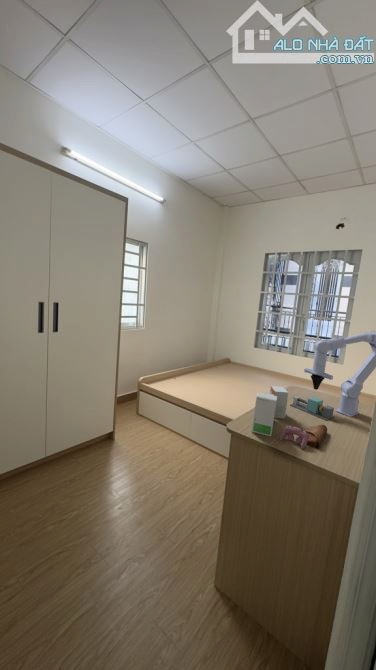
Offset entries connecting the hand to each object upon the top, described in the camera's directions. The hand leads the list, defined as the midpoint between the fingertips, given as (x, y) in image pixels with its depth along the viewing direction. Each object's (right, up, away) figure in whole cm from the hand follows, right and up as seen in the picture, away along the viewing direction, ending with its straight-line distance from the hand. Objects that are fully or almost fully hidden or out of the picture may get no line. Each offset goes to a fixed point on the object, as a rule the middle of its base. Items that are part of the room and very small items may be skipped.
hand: (315, 389), depth 145 cm
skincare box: (-36, -12, -28) cm, 47 cm away
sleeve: (-3, -11, -4) cm, 12 cm away
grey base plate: (-4, -11, -3) cm, 12 cm away
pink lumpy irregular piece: (-25, -14, -36) cm, 46 cm away
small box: (-24, -11, -10) cm, 28 cm away
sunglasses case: (-16, -15, -30) cm, 37 cm away
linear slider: (-4, -11, -3) cm, 12 cm away
